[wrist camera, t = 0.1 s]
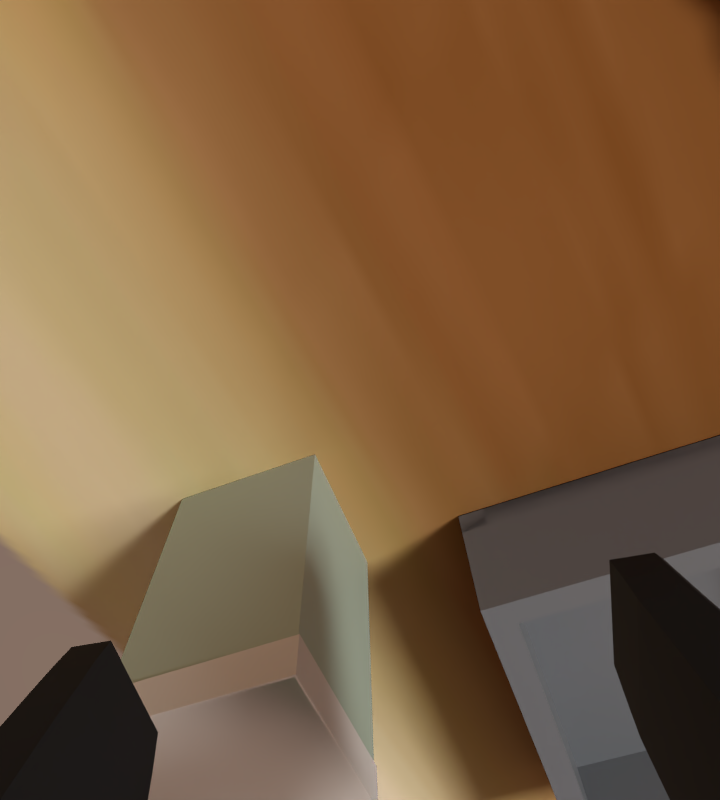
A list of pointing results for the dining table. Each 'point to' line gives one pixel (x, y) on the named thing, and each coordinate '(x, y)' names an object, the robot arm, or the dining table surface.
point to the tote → (589, 604)
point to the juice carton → (258, 646)
